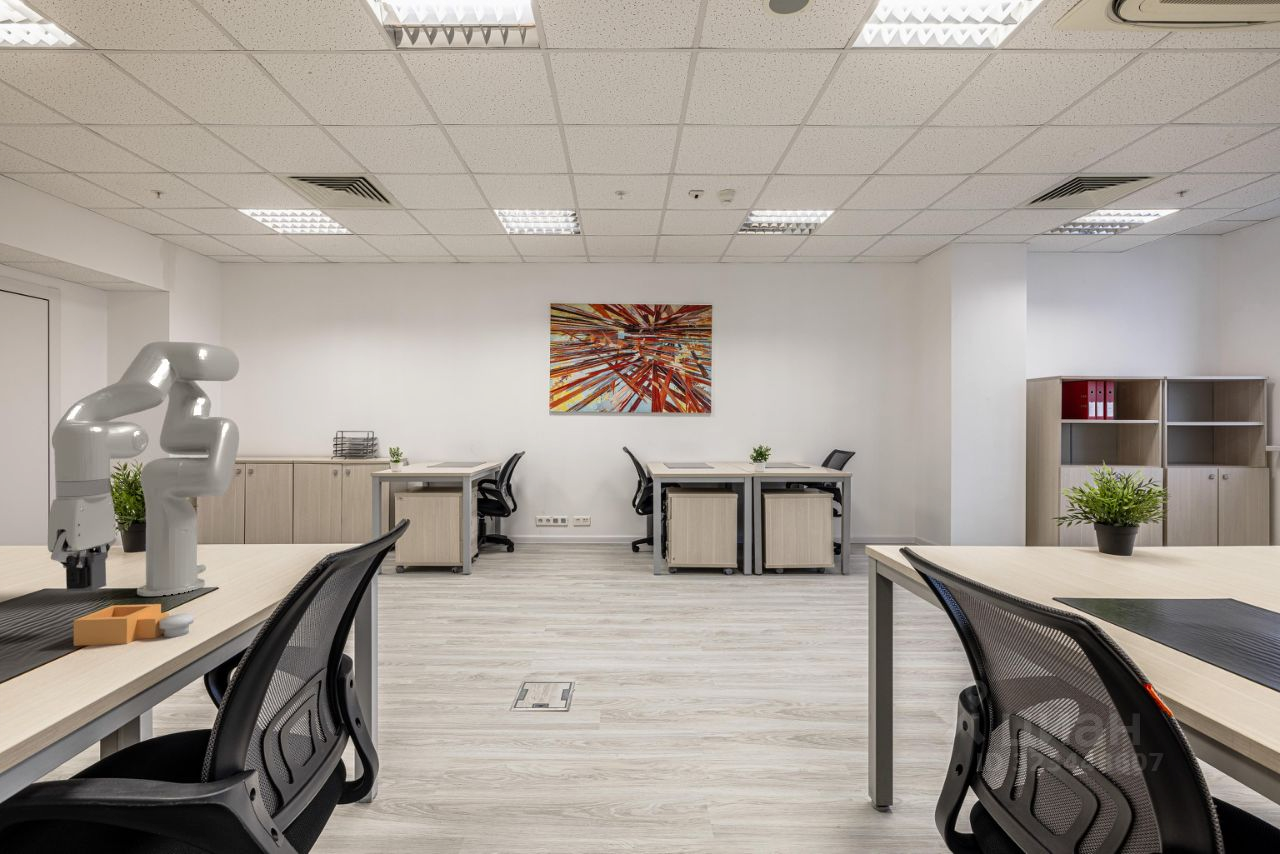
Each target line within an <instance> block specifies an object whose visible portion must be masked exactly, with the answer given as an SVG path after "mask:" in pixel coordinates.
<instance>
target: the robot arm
mask: <svg viewBox="0 0 1280 854" xmlns="http://www.w3.org/2000/svg"><path fill="white" fill-rule="evenodd" d="M239 363H240V362H239V358H238V356H237V355H236V353H235V352H234V351H233V350H232V349H230V348H228V347H223V346H219V345H213V344H209V343H203V342H193V341H192V342H188V341H187V342H185V341H183V342H182V341H154V342H150V343H147V344H146V345H144V346H143V347H142V348H141V349H140V351H139V352H138V354H137V355H136V357H135V358H134V359H133V360H132V362H131V363H130V365H129V366H128V368H127V369H126V370H125V372H124V373H123V375H121V378H120V379H119V380H118V381H117V382H114V383H112V384H110V385H108V386H105V387H103V388H101V389H99V390H97V391H95V392H93V393H90V394H89V395H87V396H85V397H83V398H81V399H80V400H77V401H76V402H75V403H74V404H73V405H71V406H70V407H69V408H68V409H67V411H66V412H65V414H64V415H63V416H62V417H61V418H60V420H59V422H58V423H57V425H56V426H55V428H54V431H53V432H52V436H51V446H52V448H53V451H54V453H53V454H54V480H55V499H53V500H52V503H51V506H50V511H49V516H48V523H47V524H48V526H47V550H48V551H49V552H50V553H51V555H50V559H51V560H53V561H55V562H56V561H57V562H59V563H60V564H61V565H62V568H63V569H65V576H66V575H67V586H66V589H67V588H68V589H84V588H87V587H88V567H84V565H85V553H98V552H109V551H110V549H111V547H112V546H113V545H114V544H115V543H116V542H117V538H116V529H117V528H116V527H117V524H116V512H115V507H114V502H113V497H112V492H111V491H112V490H111V460H114V459H115V460H118V459H119V460H120V459H132V458H135V457H137V456H139V455H141V454H142V453H143V452H144V451H145V450H146V448H147V447H148V444H149V434H148V432H147V431H146V430H145V428H144V427H143V426H141V425H139V424H138V423H134V422H130V421H111V420H115V419H117V418H120V417H125V416H128V415H133V414H138V413H141V412H145V411H148V410H150V409H154V408H156V407H158V406H160V405H161V404H162V403H163V402H164V401H165V399H166V398H167V396H168V405H167V409H166V412H165V416H164V420H163V423H162V428H161V432H160V436H159V446H160V448H161V450H162V451H164V452H165V453H166V454H171V455H175V456H176V455H178V456H179V457H162V458H161V457H160V458H156V459H153V460H150V461H149V462H147V463H146V464H145V465H144V466H143V467H142V469H141V472H140V486H141V489H142V493H143V497H144V498H143V499H144V504H145V523H146V524H145V585H141V586H140V587H137V590H136V594H137V595H138V596H140V597H162V596H163V595H166V596H172V595H171V594H173V595H178V593H180V594H184V592H185V593H188V591H189V592H192V590H193V591H195V590H200V589H201V588H203V587H204V586H205V585H206V584H205V579H203V578H198V575H199V574H201V573H203V572H205V571H206V570H207V566H206V565H205V564H199V565H198V564H197V563H198V558H197V557H198V555H197V553H198V549H197V548H198V515H197V511H196V508H195V507H194V506H193V505H192V504H191V502H190V501H189V499H188V498H207V497H209V498H211V497H219V496H222V495H224V494H225V493H226V492H227V491H228V490H229V489H230V486H231V482H232V480H233V479H232V478H233V474H234V469H235V464H236V460H237V455H238V450H239V443H240V432H239V428H238V425H237V424H236V423H235V421H233V420H232V419H230V418H227V417H222V416H220V417H219V416H210V413H211V408H212V401H211V399H210V397H209V396H208V394H207V393H206V392H205V391H204V389H202V387H200V385H198V383H197V382H198V381H199V382H201V381H202V382H203V381H204V382H228V381H231V380H233V379H234V378H236V376H237V374H238V372H239V370H240V364H239ZM196 381H197V382H196ZM180 456H181V457H180ZM182 456H187V457H182ZM188 456H207V457H188ZM72 554H77V559H76V558H75V557H74V556H72ZM105 560H107V558H105ZM163 597H164V596H163Z"/></svg>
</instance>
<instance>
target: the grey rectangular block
mask: <svg viewBox="0 0 1280 854" xmlns="http://www.w3.org/2000/svg"><path fill="white" fill-rule="evenodd" d="M108 552H109V551H108ZM108 552H98V553H86V552H85V565H84V567H88V587H87V588H84V589H68V588H67V575H66V574H65V577H66V579H65V580H66V581H65V582H66V583H65V584H66V592H92V591H93V592H94V591H95V590H96V591H97V590H99V589H101V588H103V587H107V570H106V569H107V568H106V566H107V565H106V560H107V559H106V560H105V558H108V557H109V556H108V554H109V553H108ZM72 556H74V557H75V558H76V559H77V554H72Z"/></svg>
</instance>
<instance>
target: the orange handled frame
mask: <svg viewBox="0 0 1280 854" xmlns="http://www.w3.org/2000/svg"><path fill="white" fill-rule="evenodd" d="M194 619H195V618H194V614H192V613H179V614H172V615H170V612H162V604H161V603H153V604H152V603H150V604H148V603H145V604H122V605H120V604H117V605H116V604H115V605H110V606H107V607H105V608H102V609H100V610H98V611H95V612H92V613H89V614H86V615H84V616H82V617H79V618H77V619H74V620H73V646H74V647H75V646H77V647H78V646H103V645H105V646H106V645H123V644H124V645H126V644H129V643H132V642H133V641H135V640H137V639H138V640H139V639H156V638H158V637H160V636H162V635H163V637H164V638H176V637H181V636H184V635H185V636H186V635H187V634H189V633H190V625H191V624H193V623H194Z"/></svg>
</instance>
